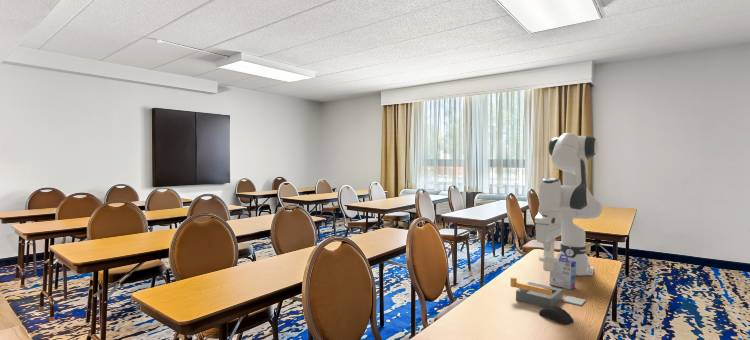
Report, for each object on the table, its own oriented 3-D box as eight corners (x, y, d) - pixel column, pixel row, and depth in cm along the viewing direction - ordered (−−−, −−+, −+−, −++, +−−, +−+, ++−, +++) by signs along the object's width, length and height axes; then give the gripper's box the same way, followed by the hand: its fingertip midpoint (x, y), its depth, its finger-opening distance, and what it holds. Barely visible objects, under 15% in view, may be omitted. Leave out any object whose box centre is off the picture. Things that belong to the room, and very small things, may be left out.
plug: (542, 266, 166) (542, 236, 165) (561, 269, 161) (561, 239, 160) (535, 270, 160) (536, 239, 160) (555, 274, 155) (555, 242, 155)
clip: (511, 284, 164) (512, 276, 164) (552, 294, 153) (552, 285, 153) (509, 286, 162) (509, 278, 162) (550, 296, 151) (550, 287, 151)
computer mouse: (547, 311, 150) (548, 301, 150) (575, 322, 140) (575, 311, 140) (537, 315, 147) (537, 304, 147) (564, 326, 137) (564, 315, 137)
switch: (529, 290, 172) (529, 279, 172) (562, 298, 163) (562, 286, 163) (515, 299, 161) (516, 288, 161) (550, 309, 152) (550, 296, 151)
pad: (567, 297, 165) (567, 295, 165) (585, 301, 160) (585, 299, 160) (562, 301, 159) (562, 300, 159) (581, 306, 155) (581, 304, 155)
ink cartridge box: (576, 287, 177) (576, 256, 176) (571, 290, 173) (571, 258, 173) (554, 282, 184) (555, 252, 184) (549, 284, 181) (549, 254, 180)
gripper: (550, 213, 169) (549, 244, 170) (533, 219, 154) (532, 253, 155) (565, 214, 165) (564, 246, 166) (549, 221, 150) (548, 255, 151)
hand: (548, 249), depth 160 cm, fingers closed on plug, 4 cm apart
